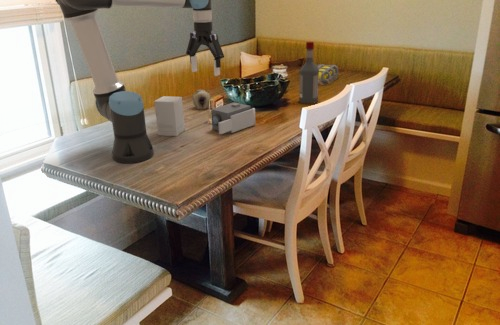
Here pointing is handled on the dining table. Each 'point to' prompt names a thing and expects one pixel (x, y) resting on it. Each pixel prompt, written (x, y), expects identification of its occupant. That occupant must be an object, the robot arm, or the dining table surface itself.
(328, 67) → the cage light
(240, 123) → the side door
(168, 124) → the supplement box
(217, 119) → the camera case
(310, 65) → the liquor
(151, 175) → the dining table surface
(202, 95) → the garlic bulb
